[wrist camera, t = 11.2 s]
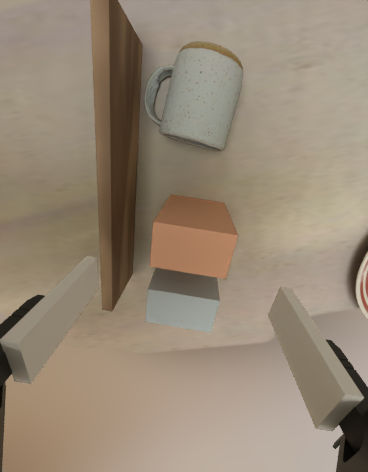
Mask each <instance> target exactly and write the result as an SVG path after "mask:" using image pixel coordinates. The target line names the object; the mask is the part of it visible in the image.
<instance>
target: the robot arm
mask: <svg viewBox="0 0 368 472" xmlns="http://www.w3.org/2000/svg"><path fill="white" fill-rule="evenodd" d="M98 289H99V284H98V264H97V258H96V257H90V256H86V257H85V258H84V259H83V260H82V261H81V262H80V263H79V264H78V265H77V266H76V267H75V268H74V269H73V270H71V271H70V272H69V273H68V274H67V275H66V276H65V277H64V278H63V279H62V280H61V281H60V282H59V283H58V284H57V285H56V286H55V287H54V288H53V289H52V290H51V291H50V292H49V293H48V294H47V295H46V296H44V295H36V296H35V297H33V298H31V299H29V300H27V301H26V302H25V303H24V304H23V305H22V306H21V307H19V309H18V310H16V311H15V312H14V313H13V314H12V315H11V316H9V317H8V318H7V319H6V320H5V321H4V322H3V323H2V324H0V472H2V457H3V436H4V435H3V434H4V415H5V394H6V385H5V381H6V380H7V379H8V377H9V376H10V375H11V374H12V375H13V378H14V381H16V382H23V383H29V384H31V383H32V382H33V381H34V379H35V378H36V376H37V375H38V374H39V372H40V371H41V369H42V368H43V366H44V365H45V364H46V362H47V361H48V359H49V358H50V356H51V355H52V354H53V352H54V351H55V349H56V348H57V347H58V345H59V344H60V342H61V341H62V340H63V338H64V337H65V335H66V334H67V333H68V331H69V330H70V328H71V327H72V325H73V324H74V323H75V321H76V320H77V318H78V317H79V316H80V314H81V313H82V311H83V310H84V308H85V307H86V306H87V304H88V303H89V301H90V300H91V299H92V297H93V296H94V294H95V293H96V292H97V290H98ZM268 316H269V319H270V321H271V323H272V326H273V328H274V331H275V333H276V335H277V338H278V340H279V342H280V345H281V347H282V350H283V352H284V354H285V357H286V359H287V361H288V364H289V366H290V368H291V371H292V373H293V376H294V378H295V380H296V382H297V385H298V387H299V390H300V392H301V394H302V397H303V399H304V401H305V404H306V406H307V409H308V411H309V414H310V416H311V418H312V421H313V423H314V425H315V428H316V429H321V430H327V431H333V430H334V429H335V428H336V427H337V426H338V425H340V427H341V429H342V431H343V433H344V434H343V435H342V436H341V437H340V438H339V439H338V440H337V441H336V442H335V443H334V445H333V447H334V448H335V449H336V448H337V447H338V446H339V445H340V447H339V455H338V462H337V469H336V472H368V387H367V386H366V384H365V383H364V382H363V380H362V379H361V377H360V376H359V374H358V373H357V372H356V370H354V368H353V366H352V365H351V363H350V362H348V359H347V358H346V356H345V355H344V353H343V352H342V351H341V349H340V348H338V347H337V346H336V345H335V344H334V343H333V342H332V341H331V340H325V338H324V337H323V335H322V334H321V332H320V331H319V329H318V328H317V326H316V325H315V323H314V322H313V320H312V319H311V317H310V316H309V314H308V313H307V311H306V310H305V308H304V307H303V305H302V304H301V302H300V301H299V299H298V298H297V296H296V295H295V293H294V292H293V290H292V289H291V288H285V287H280V289H279V291H278V294H277V296H276V298H275V301H274V303H273V305H272V307H271V310H270V312H269V314H268Z"/></svg>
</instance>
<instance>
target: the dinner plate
mask: <svg viewBox="0 0 368 472" xmlns="http://www.w3.org/2000/svg"><path fill="white" fill-rule="evenodd" d="M356 299H357V302H358V305H359V307H360V310H361V311H362V313H363V314H364V316H365V317H366V318H367V319H368V252H367V253H366V255H365V257H364V259H363V261H362V263H361V266H360V268H359V271H358V275H357V279H356Z"/></svg>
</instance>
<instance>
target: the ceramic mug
mask: <svg viewBox="0 0 368 472" xmlns="http://www.w3.org/2000/svg"><path fill="white" fill-rule="evenodd" d="M171 75H172V76H171ZM167 76H171V81H170V86H169V91H168V95H167V99H166V103H165V108H164V112H163V116H162V120H161V121H160V120H159V119H158V118H157V117H156V115H155V113H154V106H153V105H154V100H155V96H156V92H157V89H158V88H159V83H160V82H161V81H162V80H163V79H164V78H165V77H167ZM242 78H243V67H242V65H241V62H240V61H239V59H238V58H237V57H236V55H234V54H233V53H232V52H231V51H229V50H228V49H226V48H224V47H222V46H220V45H217V44H213V43H209V42H192V43H189V44H187V45H185V46H183V47H182V49H181V50H180V51H179V53H178V56H177V59H176V61H175V64H174V65H165V66H163V67H160V68H158V69H157V70H156V71H155V72H154V73H153V74H152V76H151V77H150V79H149V81H148V84H147V86H146V90H145V96H144V104H145V109H146V111H147V113H148V115H149V117H150V118H151V119H152V120H153V121H154V122H155V123H156V124H158V125H160V130H159V132H160V134H162V135H164V136H167V137H170V138H172V139H175V140H178V141H181V142H185V143H188V144H191V145H195V146H198V147H202V148H206V149H210V150H214V151H222V150H223V149H224V147H225V143H226V139H227V136H228V132H229V129H230V125H231V122H232V118H233V114H234V110H235V107H236V104H237V100H238V97H239V93H240V90H241V84H242Z"/></svg>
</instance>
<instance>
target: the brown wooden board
mask: <svg viewBox="0 0 368 472" xmlns="http://www.w3.org/2000/svg"><path fill="white" fill-rule="evenodd" d="M90 5H91V30H92V56H93V82H94V107H95V133H96V159H97V184H98V210H99V236H100V261H101V287H102V310H107V311H113V309H114V307H115V305H116V303H117V302H118V300H119V298H120V296H121V294H122V292H123V291H124V289H125V287H126V285H127V283H128V281H129V279H130V278H131V276H132V274H133V251H134V227H135V204H136V180H137V156H138V133H139V109H140V86H141V62H142V43H141V42H140V40H139V38H138V36H137V34H136V33H135V31H134V29H133V27H132V25H131V23H130V22H129V20H128V18H127V16H126V14H125V13H124V11H123V9H122V7H121V5H120V4H119V2H118V0H90Z"/></svg>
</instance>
